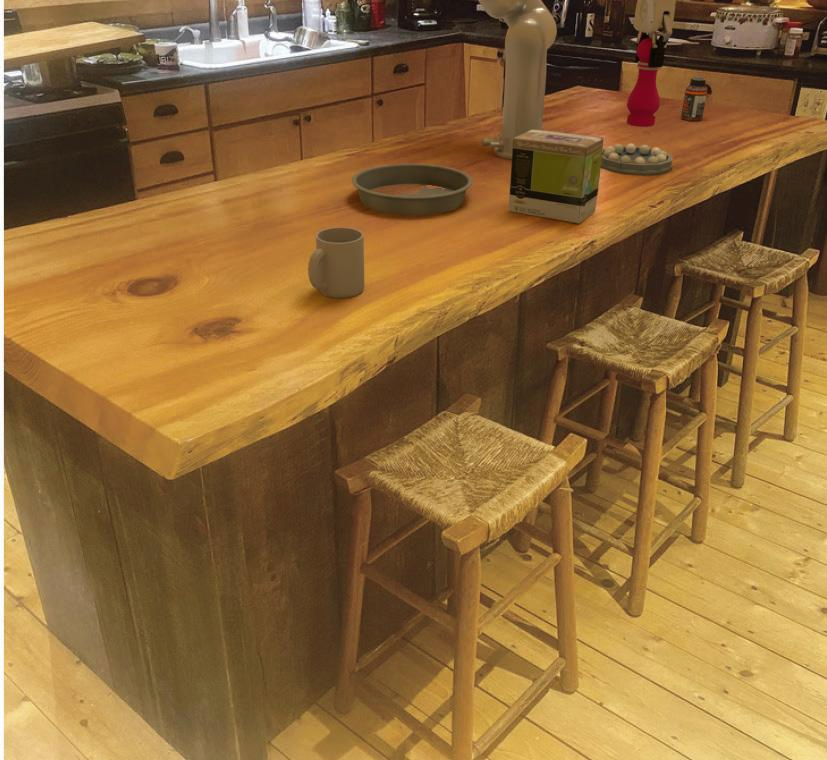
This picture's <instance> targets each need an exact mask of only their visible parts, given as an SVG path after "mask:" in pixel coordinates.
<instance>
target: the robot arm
mask: <svg viewBox="0 0 827 760" xmlns="http://www.w3.org/2000/svg"><path fill="white" fill-rule="evenodd" d="M477 1H478V3H479V4H480V6H481V7H482V8H483V10H484V11H485V13H487V15H489V16H490V17H491V18H494V19H498V20H501V19H502V20H503V21H504V22H505V23H506V25H507V27H508V28H507V32H506V34H505V39H504V54H505V55H504V57H505V58H504V59H505V73H504V74H505V75H504V93H503V95H504V96H503V109H502V122H501V123H502V127H501V132H499V133H497V136H494V137H482V139H481V145H482V147H489V148H491V149H492V148H494V151H493V152H494V154H495V156H498V157H500V158H503V159H506V160H507V159H508V160H512V147H513V138H515V137H517V136H519V135H521V134H524V133H526V132H528V131H530V130H532V129H537V130H542V128H543V117H544V105H545V94H546V93H545V92H546V84H547V83H546V82H547V81H546V80H547V53H548V49H550V48H551V47H552V45H553V44H554V42H555V40H556V38H557V34H558V33H557V32H558V31H557V29H558V28H557V23H556V21H555V18H554V17H553V14H552V13H551V11H549V9H548V8H547V6H546V5H545V4H544V2H543V0H477ZM636 1H637V2H636V6H635V13H634V19H633V28H634V29H635V30H636V35H637V38H636V52H635V58H634V61H635V63H637V62H638V61H640V60H639V57H638V56H637V47H638V45H639V43H640V42H641V41H642V40H644V39H646V38H650V37H649V34H652V41H653V48H650V55H649V63H648V67H650V68H653V67H660V68H662V67H663V66H664V59H665V54H666V53H665V52H666V48H667V45H668V42H669V40H670V37H671V36H672V35H673V24H674V20H675V19H674V18H675V11H676V2H677V1H676V0H636ZM657 39H658V40H657Z"/></svg>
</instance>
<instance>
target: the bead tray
mask: <svg viewBox="0 0 827 760" xmlns="http://www.w3.org/2000/svg"><path fill="white" fill-rule="evenodd" d="M673 159H674V156H673V155H671V154H670V153H668V152H667V151H665V150H662V149H661V148H660V147H657V146H655V147H653V148H652V147H650V146H649V145H648V144H642V145H640V146H636V145H635V144H634V143H633V142H632V143H628V144H627V145H623V144H622V143H616V144H614V145H613V146H612V145H608V146H607V147H603V150H602V159H601V168H600V169H602V170H605V171H608V172H612V173H615V174H620V175H629V176H630V175H631V176H643V177H644V176H645V177H646V176H657V175H663V174H666V173H668V172H670V171H671V170H672V165H673ZM670 169H671V170H670ZM669 170H670V171H669ZM662 173H663V174H662Z"/></svg>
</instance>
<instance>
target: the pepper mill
mask: <svg viewBox="0 0 827 760" xmlns="http://www.w3.org/2000/svg"><path fill="white" fill-rule="evenodd" d="M649 37H650V38H646V39H644V40H642V41H641V42H640V43H639V45H638V47H637V46H636V49H637V56H638V57H639V60H640V61H638V62H636V63H637V66H636V68H637V69H638V75H637V79H636V80H637V81H636V83H635V85H634V87H633V89H632V91H631V92H630V93H629V96H628V98H627V102H626V108H627V110H628V111H629V114H628V115H627V116H626V117H627V119H626V125H629V126H632V127H638V128H639V127H640V128H643V127H644V128H648V127H653V126H655V123H656V119H657V118H656V116H655V113H656V112H657V111H658V110H659V109H660V106H661V105H660V104H661V103H660V99H661V98H660V95H659V91H658V87H657V75H658V70H660V69H661V67H653V68H650V67H648V63H649V55H650V48H653V41H652V34H649ZM657 40H658V38H657Z"/></svg>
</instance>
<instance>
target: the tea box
mask: <svg viewBox="0 0 827 760" xmlns="http://www.w3.org/2000/svg"><path fill="white" fill-rule="evenodd" d="M604 139H605V138H604V137H603V136H591V135H587V134H586V135H585V134H575V133H569V132H560V131H552V130H551V131H550V130H545V129H543V130H537V129H532V130H530V131H528V132H526V133H524V134H521V135H519V136H517V137H515V138H513V147H512V159H511V164H510V165H511V168H510V181H509V197H508V198H509V199H508V200H509V201H508V211H509V212H512V213H517V214H522V215H523V214H524V215H527V216H534V217H541V218H545V219H552V220H558V221H565V222H569V223H574V224H580V223H581V222H583V221H584V220H586V219H587V218H588V217H590V216H591V215H592V214H594V213H595V212H596V207H597V203H598V193H599V185H600V175H601V169H602V168H601V159H602V150H603V149H604Z"/></svg>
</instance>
